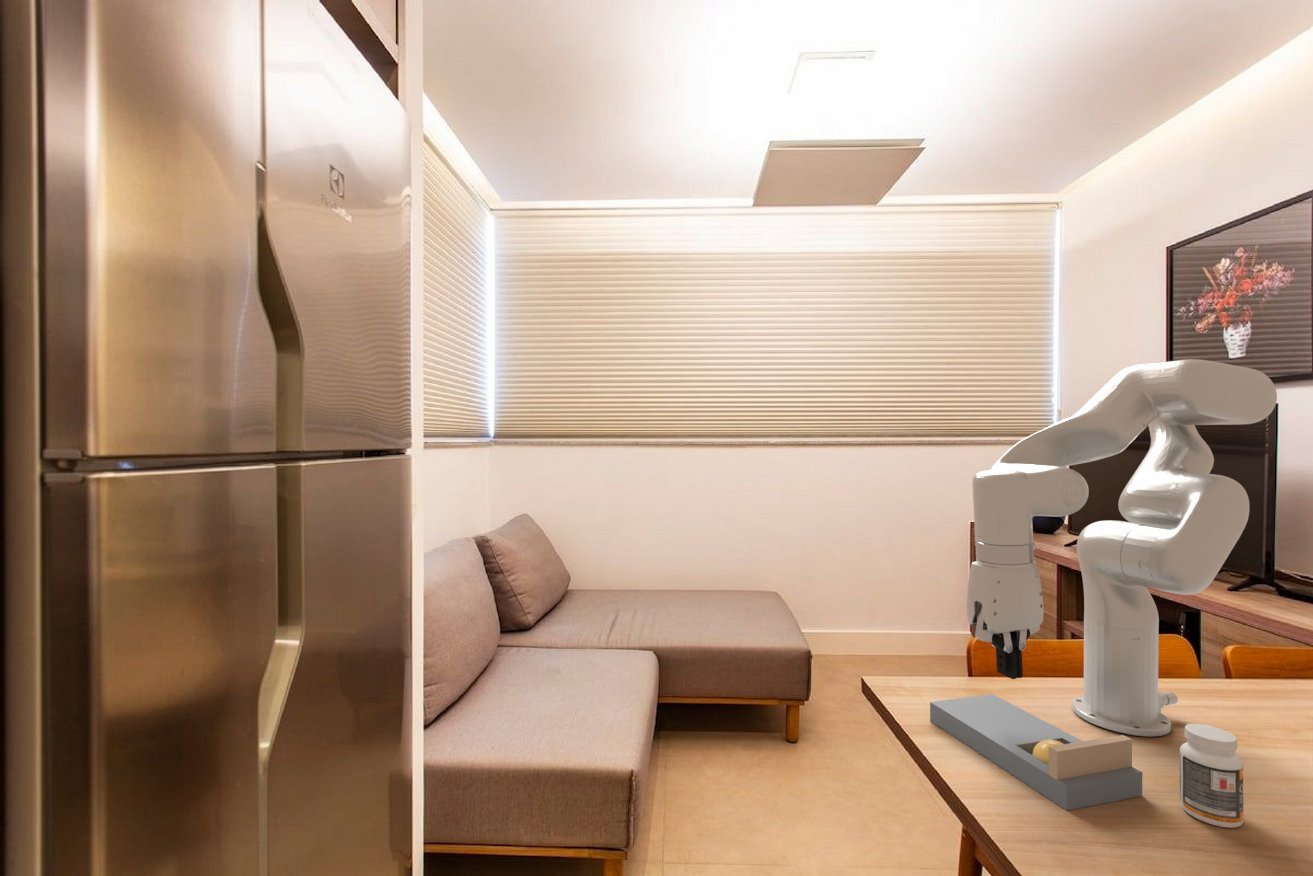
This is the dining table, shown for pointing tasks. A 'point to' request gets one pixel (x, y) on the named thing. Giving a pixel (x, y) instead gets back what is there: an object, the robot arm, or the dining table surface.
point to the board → (1073, 767)
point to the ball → (1044, 749)
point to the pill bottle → (1211, 776)
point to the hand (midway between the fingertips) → (1009, 674)
